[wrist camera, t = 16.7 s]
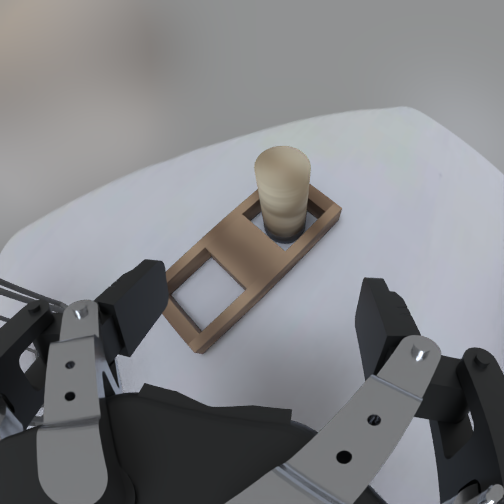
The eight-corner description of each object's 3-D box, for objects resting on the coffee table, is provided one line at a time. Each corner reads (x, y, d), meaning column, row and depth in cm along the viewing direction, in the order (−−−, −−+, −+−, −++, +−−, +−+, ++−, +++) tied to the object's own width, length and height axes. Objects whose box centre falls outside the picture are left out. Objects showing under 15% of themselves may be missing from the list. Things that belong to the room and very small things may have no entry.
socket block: (285, 179, 33) (284, 166, 31) (338, 219, 30) (342, 208, 28) (155, 297, 29) (145, 291, 27) (202, 354, 26) (194, 352, 24)
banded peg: (283, 200, 32) (280, 138, 23) (313, 224, 30) (322, 165, 21) (255, 225, 31) (242, 168, 22) (285, 251, 29) (284, 199, 20)
